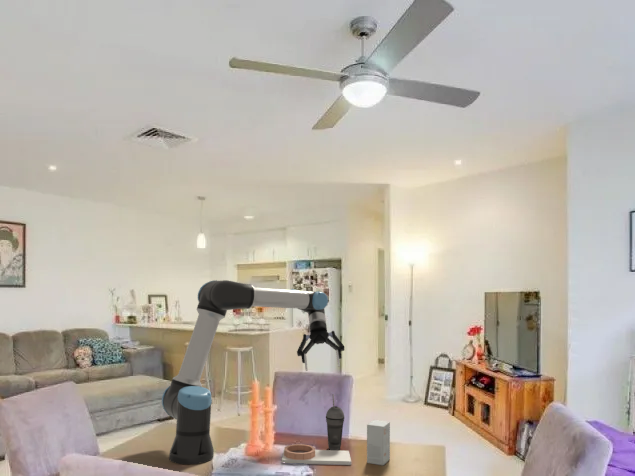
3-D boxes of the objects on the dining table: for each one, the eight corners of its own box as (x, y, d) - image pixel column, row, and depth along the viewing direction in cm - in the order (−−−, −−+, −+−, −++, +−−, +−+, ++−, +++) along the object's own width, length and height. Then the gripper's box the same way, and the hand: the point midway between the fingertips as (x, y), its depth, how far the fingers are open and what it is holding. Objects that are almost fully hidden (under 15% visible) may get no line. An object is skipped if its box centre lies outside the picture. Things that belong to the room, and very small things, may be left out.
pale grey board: (281, 463, 167) (281, 459, 167) (283, 452, 179) (283, 449, 179) (351, 465, 167) (351, 461, 167) (348, 454, 179) (348, 450, 179)
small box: (373, 456, 177) (373, 419, 179) (390, 459, 175) (390, 421, 176) (366, 462, 170) (366, 424, 172) (383, 465, 167) (383, 426, 169)
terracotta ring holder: (283, 459, 168) (283, 453, 168) (285, 449, 179) (285, 443, 179) (315, 460, 168) (315, 454, 168) (315, 450, 179) (315, 444, 179)
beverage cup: (336, 453, 180) (337, 397, 183) (321, 449, 184) (322, 394, 187) (347, 448, 186) (348, 394, 188) (332, 444, 190) (333, 392, 193)
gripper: (345, 326, 219) (352, 368, 204) (290, 332, 218) (293, 375, 203) (345, 316, 214) (352, 358, 199) (289, 323, 213) (291, 366, 198)
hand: (322, 367), depth 201 cm, fingers open, 13 cm apart
